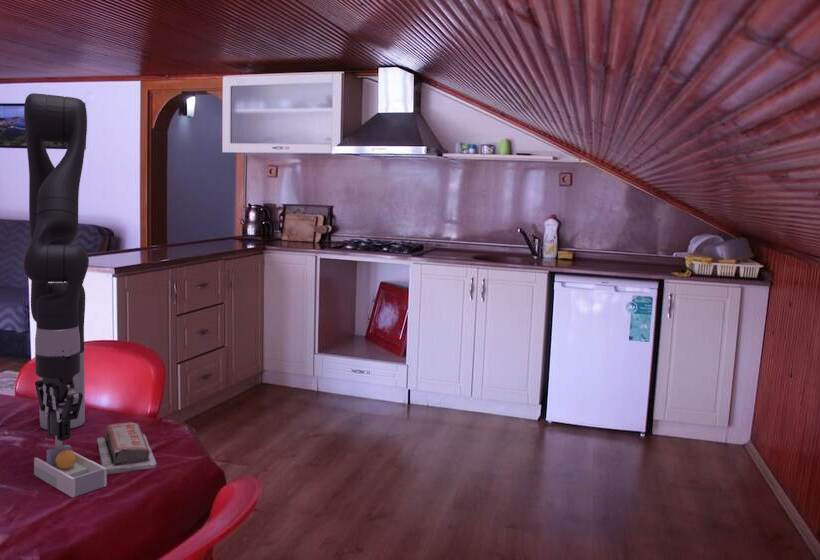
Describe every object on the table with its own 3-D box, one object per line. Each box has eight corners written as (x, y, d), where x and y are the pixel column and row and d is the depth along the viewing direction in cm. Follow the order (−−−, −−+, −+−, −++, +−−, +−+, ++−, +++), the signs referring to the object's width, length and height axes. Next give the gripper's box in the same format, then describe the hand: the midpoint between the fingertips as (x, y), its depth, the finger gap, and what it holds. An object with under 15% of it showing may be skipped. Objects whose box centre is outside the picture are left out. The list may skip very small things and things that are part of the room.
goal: (56, 488, 122) (56, 470, 122) (90, 477, 128) (90, 460, 127) (72, 497, 119) (72, 479, 119) (106, 485, 125) (106, 468, 124)
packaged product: (96, 423, 144) (145, 418, 149) (96, 444, 144) (144, 438, 149) (103, 453, 128) (157, 447, 133) (103, 477, 129) (157, 469, 134)
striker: (44, 463, 127) (43, 412, 126) (65, 457, 130) (64, 408, 129) (52, 468, 125) (51, 416, 124) (73, 462, 129) (73, 411, 127)
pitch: (34, 475, 127) (34, 458, 127) (67, 464, 133) (67, 448, 132) (56, 488, 122) (56, 470, 122) (90, 477, 128) (90, 460, 127)
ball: (51, 468, 126) (51, 450, 126) (70, 462, 129) (70, 445, 128) (61, 473, 124) (61, 455, 124) (79, 468, 127) (79, 450, 126)
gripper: (19, 345, 126) (20, 432, 128) (56, 360, 118) (57, 452, 120) (59, 340, 132) (59, 423, 134) (97, 353, 124) (97, 441, 126)
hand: (58, 436), depth 127 cm, fingers closed on striker, 3 cm apart
